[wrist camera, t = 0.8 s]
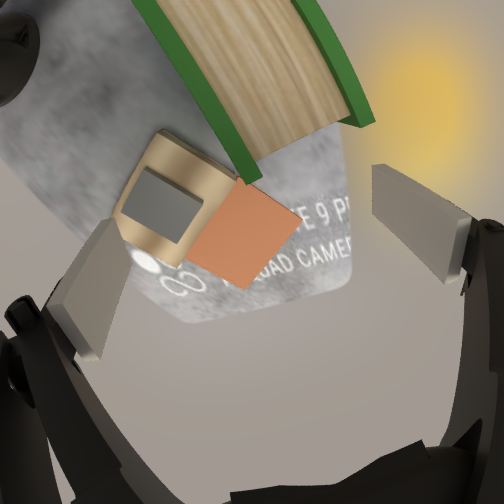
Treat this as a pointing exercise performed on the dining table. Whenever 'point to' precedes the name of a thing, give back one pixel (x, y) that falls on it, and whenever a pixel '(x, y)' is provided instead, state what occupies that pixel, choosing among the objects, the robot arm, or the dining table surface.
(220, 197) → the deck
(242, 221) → the mat
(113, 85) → the dining table surface
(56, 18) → the dining table surface
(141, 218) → the gray flat block
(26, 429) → the robot arm
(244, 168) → the hardback book
